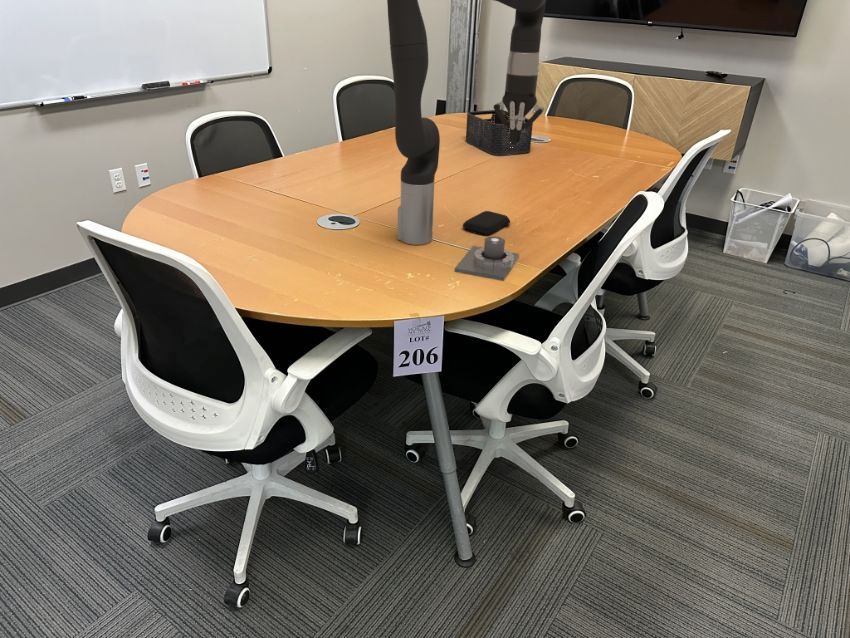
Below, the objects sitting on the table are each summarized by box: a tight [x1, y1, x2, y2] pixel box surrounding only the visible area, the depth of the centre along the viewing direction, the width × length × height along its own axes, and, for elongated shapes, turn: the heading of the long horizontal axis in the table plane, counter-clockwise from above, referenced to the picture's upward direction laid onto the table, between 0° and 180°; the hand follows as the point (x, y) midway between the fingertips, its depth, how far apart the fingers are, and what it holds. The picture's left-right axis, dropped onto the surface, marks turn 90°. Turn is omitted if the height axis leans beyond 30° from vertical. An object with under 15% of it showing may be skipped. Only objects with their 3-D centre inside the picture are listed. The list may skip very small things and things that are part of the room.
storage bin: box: [465, 109, 534, 156], centre depth 267 cm, size 29×19×13 cm
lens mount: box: [454, 245, 520, 282], centre depth 161 cm, size 13×16×3 cm
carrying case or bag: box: [462, 210, 511, 236], centre depth 185 cm, size 11×3×15 cm
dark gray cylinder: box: [483, 236, 506, 260], centre depth 159 cm, size 5×5×6 cm
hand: (515, 144), depth 156 cm, fingers closed
